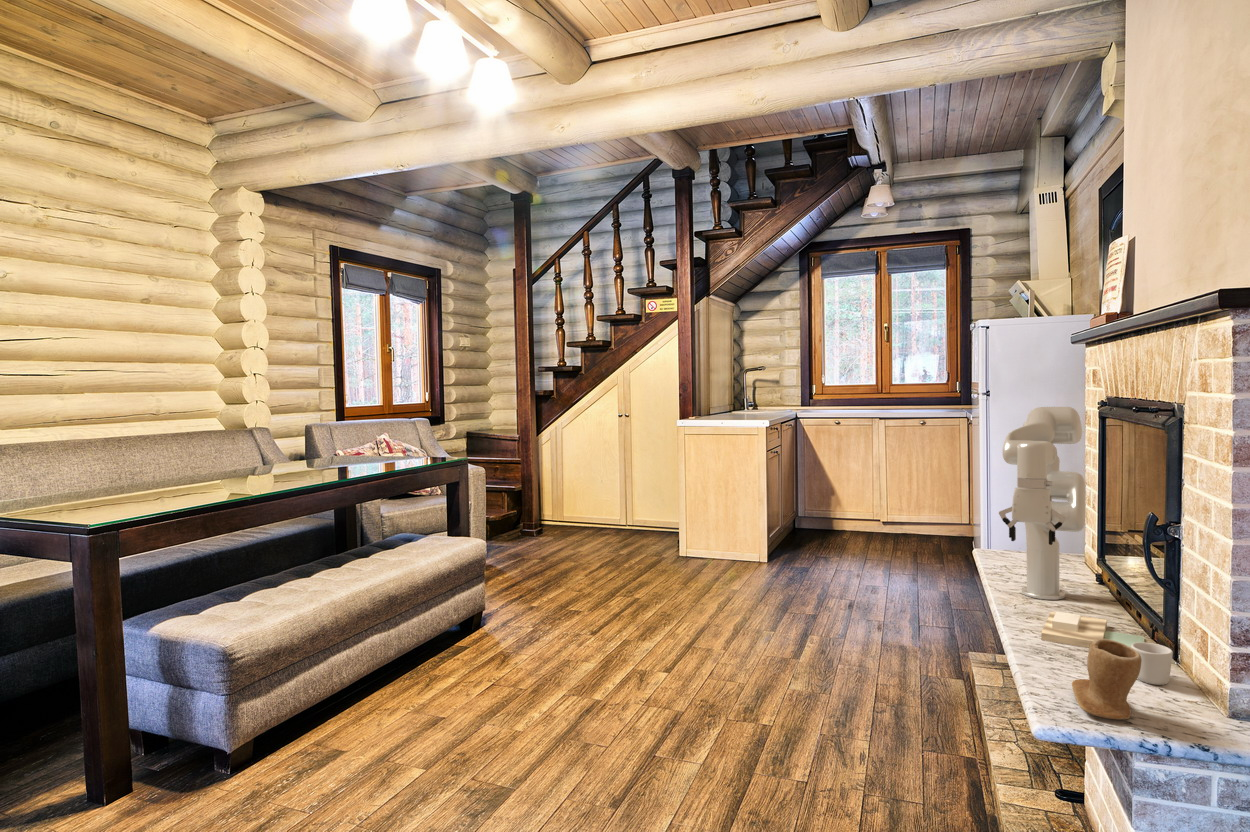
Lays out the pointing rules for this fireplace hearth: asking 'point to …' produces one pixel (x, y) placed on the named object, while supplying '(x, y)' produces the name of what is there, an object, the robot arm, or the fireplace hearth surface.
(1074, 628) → the cream rectangular block
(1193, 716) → the fireplace hearth surface
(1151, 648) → the cup
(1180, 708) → the fireplace hearth surface
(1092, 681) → the brown hollow flared vessel
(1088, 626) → the wavy wooden board
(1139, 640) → the mat
